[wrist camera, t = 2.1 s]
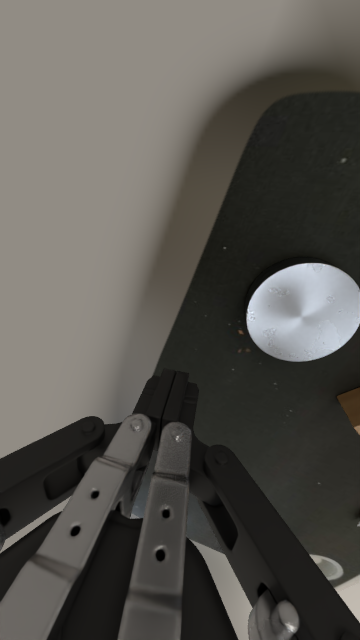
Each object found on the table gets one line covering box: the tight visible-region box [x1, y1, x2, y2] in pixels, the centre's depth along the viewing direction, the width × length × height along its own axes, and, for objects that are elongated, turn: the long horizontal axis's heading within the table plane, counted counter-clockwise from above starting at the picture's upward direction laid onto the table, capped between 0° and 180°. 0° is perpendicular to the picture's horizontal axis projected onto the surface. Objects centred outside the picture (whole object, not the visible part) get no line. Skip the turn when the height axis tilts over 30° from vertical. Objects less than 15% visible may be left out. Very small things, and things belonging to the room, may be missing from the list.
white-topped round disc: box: [245, 257, 360, 361], centre depth 26 cm, size 11×11×3 cm
